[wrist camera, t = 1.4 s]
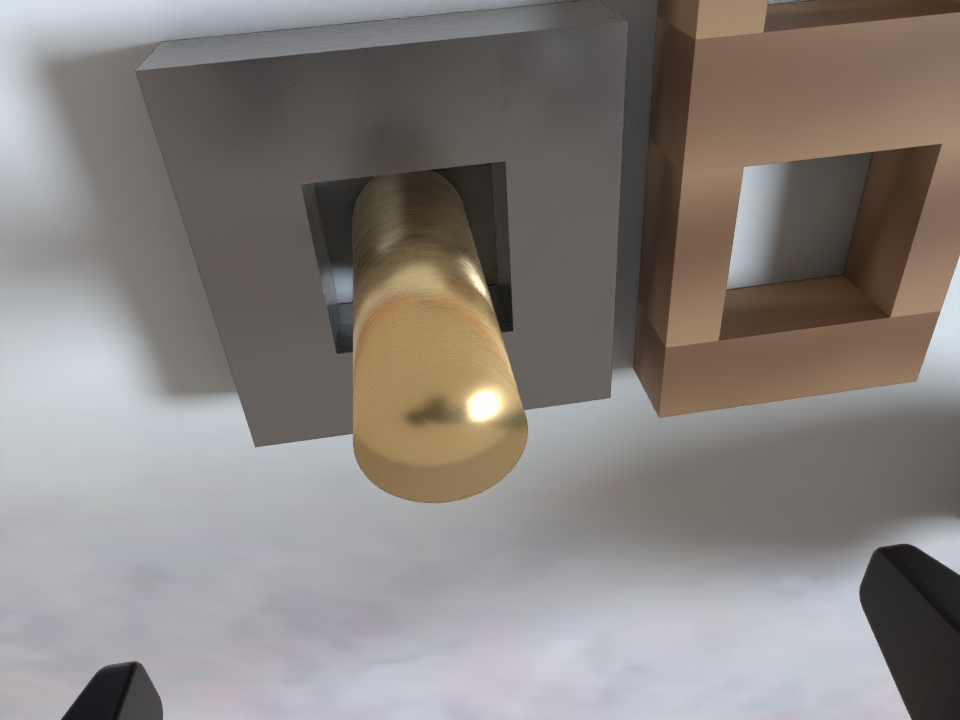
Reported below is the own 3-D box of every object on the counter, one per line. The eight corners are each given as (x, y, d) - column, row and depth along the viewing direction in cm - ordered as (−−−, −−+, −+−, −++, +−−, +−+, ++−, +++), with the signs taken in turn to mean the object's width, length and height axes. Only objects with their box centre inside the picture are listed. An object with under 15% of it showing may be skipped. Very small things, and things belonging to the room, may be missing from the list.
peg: (468, 262, 21) (529, 490, 14) (362, 275, 21) (367, 513, 14) (460, 159, 19) (525, 358, 12) (343, 172, 19) (339, 382, 12)
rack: (870, 335, 25) (916, 381, 23) (633, 368, 24) (659, 417, 22) (1095, -451, 14) (1216, -496, 12) (687, -428, 14) (745, -472, 12)
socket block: (588, 348, 24) (610, 397, 21) (263, 392, 23) (255, 447, 21) (596, -1, 18) (628, 21, 16) (161, 41, 17) (135, 70, 15)
